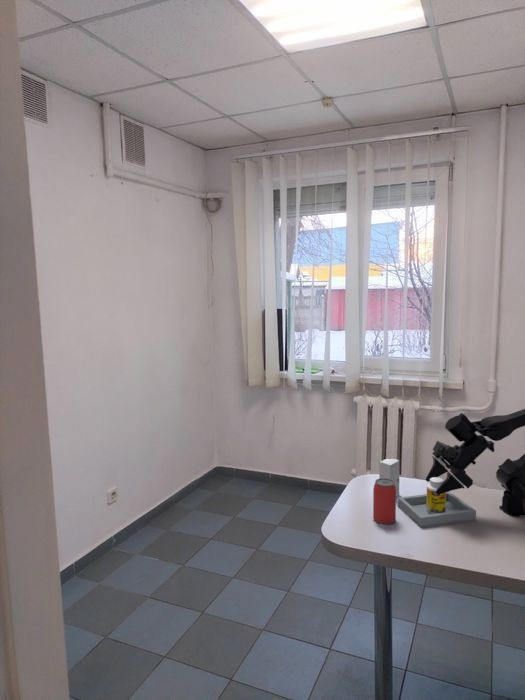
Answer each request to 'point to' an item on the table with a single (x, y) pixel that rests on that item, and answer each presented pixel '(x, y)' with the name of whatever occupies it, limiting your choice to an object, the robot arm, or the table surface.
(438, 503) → the supplement bottle
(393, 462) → the skincare box
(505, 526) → the table surface
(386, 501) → the beer can
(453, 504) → the sorting tray
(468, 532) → the table surface
